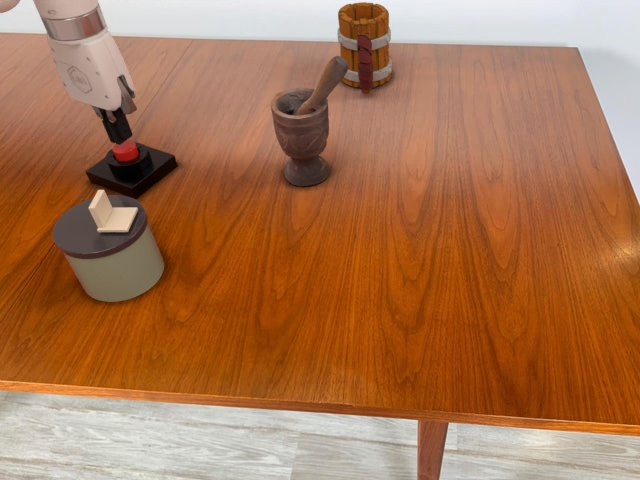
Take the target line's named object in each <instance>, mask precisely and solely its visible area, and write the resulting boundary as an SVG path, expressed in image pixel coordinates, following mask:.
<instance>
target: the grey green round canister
mask: <svg viewBox="0 0 640 480" xmlns="http://www.w3.org/2000/svg"><path fill="white" fill-rule="evenodd" d="M106 195H107V194H106ZM107 197H108V199H109V201H110V204H111V206H112V207H137V208H138V211H137V213H136V216H135V218H134V220H133V222H132V224H131V227H130V229H129V231H128V232H98V231H97V229H98V227H97V225H96V223H95V221H94V219H93V217H92V214H91V212H90V210H89V206H90V204H91V202H92V200H93V199H94V197H92V198H89V199H86V200H83V201H81V202H79V203H77V204H75V205H73V206H71V207H70V208H69V209H67V210H66V211H64V213H62V214H61V215H60V216H59V217H58V219H57V220H56V222H55V223H54V226H53V228H52V240H53V242H54V244H55V246H56V247H57V248H58V250H59V251H60V252H61V253H62V255H63V256H64V258H65V259H66V261H67V263H68V264H69V266H70V268H71V270H72V272H73V273H74V275H75V277H76V278H77V280H78V282H79V283H80V286H81V287H82V289H83V290H84V292H85V293H86V295H88V296H89V297H91V298H92V299H93V300H96V301H99V302H105V303H106V302H107V303H117V302H123V301H127V300H132V299H134V298H137V297H138V296H140V295H143V294H144V293H146V292H147V291H149V290H150V289H151V288H153V287H154V286H155V285H156V284H157V283H158V282H159V280H160V279H161V277H162V275H163V273H164V270H165V261H164V257H163V255H162V253H161V249H160V248H159V245H158V242H157V241H156V238H155V236H154V232H153V230H152V228H151V225H150V222H149V220H148V219H149V217H148V214H147V211H146V209H145V207H144V205H143V204H142V203H141V202H140V201H139V200H137V199H134V198H131V197H129V196H126V195H123V194H108V195H107Z"/></svg>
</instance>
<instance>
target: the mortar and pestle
mask: <svg viewBox="0 0 640 480" xmlns="http://www.w3.org/2000/svg"><path fill="white" fill-rule="evenodd" d="M347 71H348V63H347V61H346V60H345V59H344V58H342V57H341V55H335V56H334V57H332V58H331V59H330V60H329V61H328V63H327V64H326V66H325V68H324V70H323V72H322V74H321V75H320V78H319V80H318V82H317V84H316V86H315V88H308V87H307V88H306V87H296V88H295V87H294V88H290V89H286V90H283V91H278V92H277V93H276V94H275V95H274V96H273V97H272V99H271V101H270V111H271V114H272V121H273V123H272V124H273V127H274V133H275V136H276V139H277V142H278V145H279V146H280V149H281V150H282V152H283V153H284V154H285V155H286V156H288V157H290V158H289V159H288V160H287V161H286V163H285V166H284V172H283V173H284V177H285V179H286V181H287V182H288V183H290V184H291V185H294V186H298V187H310V186H315V185H317V184H320V183H321V182H323V181H324V180H325V179H327V178H328V176H329V174H330V169H329V165H328V163H327V161H326V160H325V158H323V157H322V156H321V154H322V153H323V152H324V151H325V149H326V147H327V144H328V142H327V141H328V138H329V135H330V118H329V100H328V98H329V96H330V95H331V94H332V92H333V91H334V90H335V88H337V87H338V85H339V84H340V83H341V82H342V79H343V78H344V76H345V75H346V73H347Z"/></svg>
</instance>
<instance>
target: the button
mask: <svg viewBox="0 0 640 480" xmlns="http://www.w3.org/2000/svg"><path fill="white" fill-rule="evenodd" d="M134 142H135V141H134V140H130V141H129V139H128V140H126V141H125V142H123V143H122V144H121V145H118V144H116V143H114V144H113V146H112V148H111V149H112V150H113V152H114V155H115V157H116V159H117V160H118V161H129V160H132V159H135V158H136V157H137V156H138V155H139V152H138V149H137V147H136V144H135V143H134Z"/></svg>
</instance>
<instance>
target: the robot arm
mask: <svg viewBox="0 0 640 480" xmlns="http://www.w3.org/2000/svg"><path fill="white" fill-rule="evenodd" d="M32 1H33V3H34V6H35V8H36V11H37V12H38V15H39V17H40V20H41V22H42V24H43V26H44V28H45V31H46V33H45V34H46V38H47V43H48V47H49V51H50V54H51V57H52V60H53V62H54V65H55V68H56V70H57V73H58V75H59V76H58V77H59V78H60V80H61V83H62V86H63V88H64V90H65V92H66V94H67V96H69V98H71V99H72V100H75V101H77V102H80V103H83V104H86V105H88V106H91V107H92V109H93V111H94V113H95V115H96V117H97V118H98V119H99V120H101V122H102V125H103V127H104V130H105V132H106V134H107V136H108V139H109V141H110V143H112V144H118V145H121V144H122V143H123V142H125V141H126V140H129V139H131V138H132V137H133V135H134V134H133V131H132V128H131V126H130V123H129V121H128V118H127V115H132V114H134V113H135V112H136V111H137V110H138V107H137V106H136V104H135V102H134V100H133V99H135V98H136V97H137V96H136V95H137V94H136V89H135V88H136V87H135V85H134V82H133V79H132V76H131V73H130V72H129V69H128V66H127V64H126V62H125V60H124V57H123V55H122V53H121V51H120V48H119V46H118V44H117V43H116V41H115V38H114V37H113V36H112V34H111V32H110V31H109V27H108V24H107V22H106V19H105V17H104V13H103V11H102V8H101V5H100V2H99V0H32ZM20 2H21V0H0V14H3V13H6V12H9V11H11V10H13V9H14V8H16V7H17V6H18V5H19V3H20Z"/></svg>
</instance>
